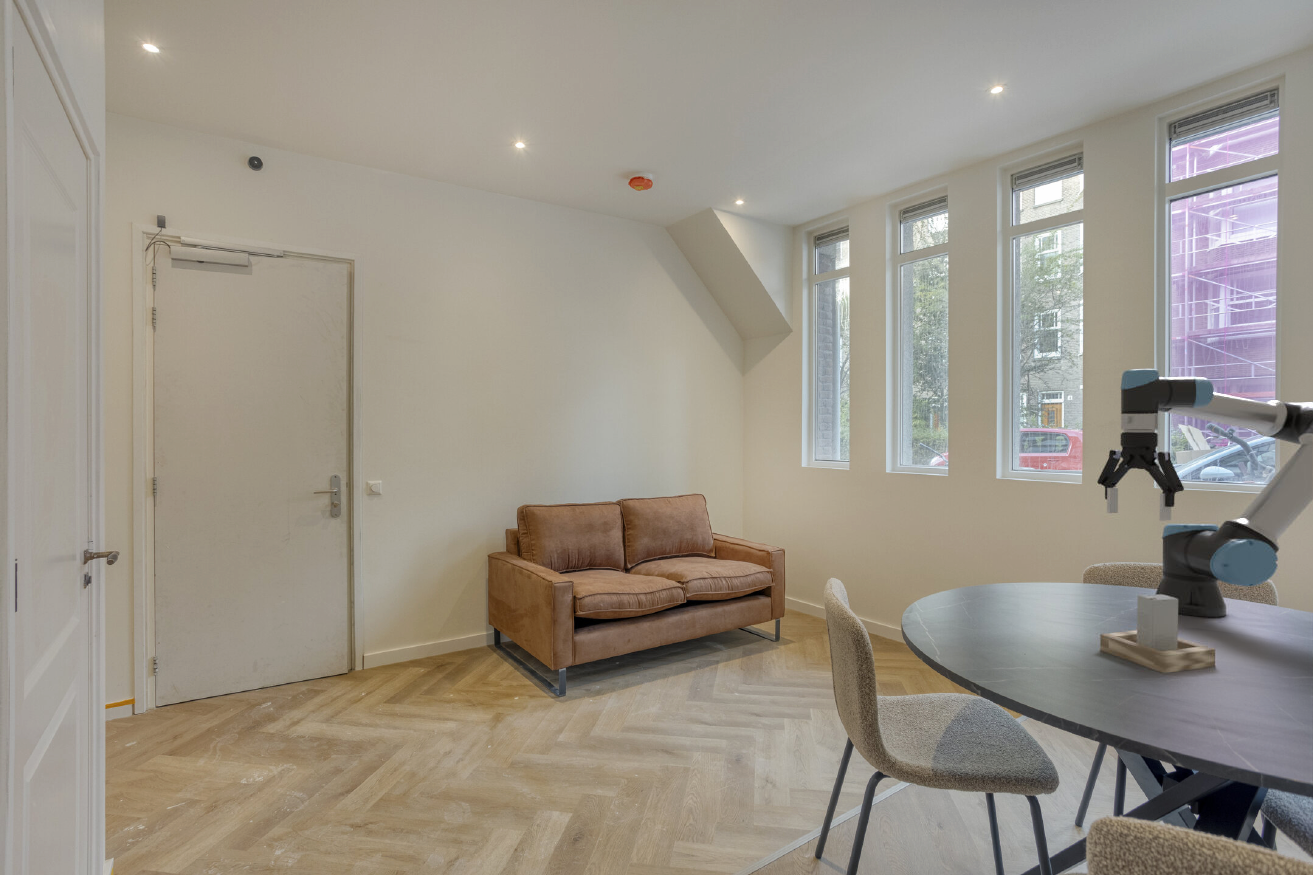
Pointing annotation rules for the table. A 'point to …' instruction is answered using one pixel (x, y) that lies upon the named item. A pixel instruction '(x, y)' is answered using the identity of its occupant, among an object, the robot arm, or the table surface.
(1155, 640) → the skincare box
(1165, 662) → the holder
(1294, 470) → the robot arm
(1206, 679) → the table surface
